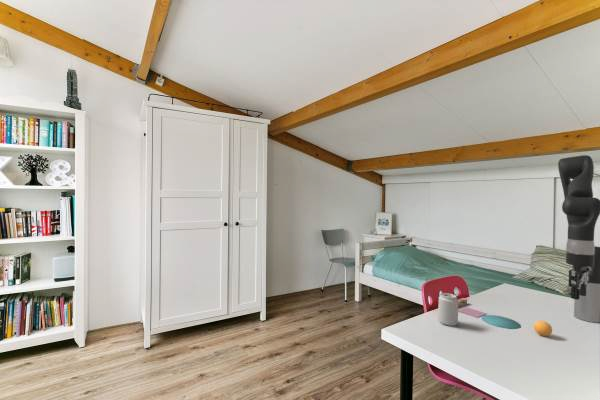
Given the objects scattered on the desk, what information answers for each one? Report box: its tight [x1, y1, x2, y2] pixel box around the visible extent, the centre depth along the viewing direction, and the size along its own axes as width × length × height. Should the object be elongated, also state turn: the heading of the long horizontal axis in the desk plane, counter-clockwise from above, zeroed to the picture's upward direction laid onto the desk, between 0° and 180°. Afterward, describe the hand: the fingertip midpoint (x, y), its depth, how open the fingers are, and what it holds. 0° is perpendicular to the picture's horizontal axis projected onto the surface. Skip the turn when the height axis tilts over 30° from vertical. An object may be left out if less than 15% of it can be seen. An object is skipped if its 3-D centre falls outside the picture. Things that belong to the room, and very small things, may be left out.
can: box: [437, 292, 459, 327], centre depth 127 cm, size 8×8×12 cm
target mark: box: [481, 314, 522, 330], centre depth 130 cm, size 14×14×1 cm
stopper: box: [457, 297, 468, 308], centre depth 147 cm, size 20×2×2 cm, turn 124°
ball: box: [533, 320, 553, 337], centre depth 118 cm, size 6×6×6 cm
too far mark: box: [458, 307, 488, 318], centre depth 140 cm, size 9×9×1 cm
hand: (578, 297), depth 109 cm, fingers open, 7 cm apart
